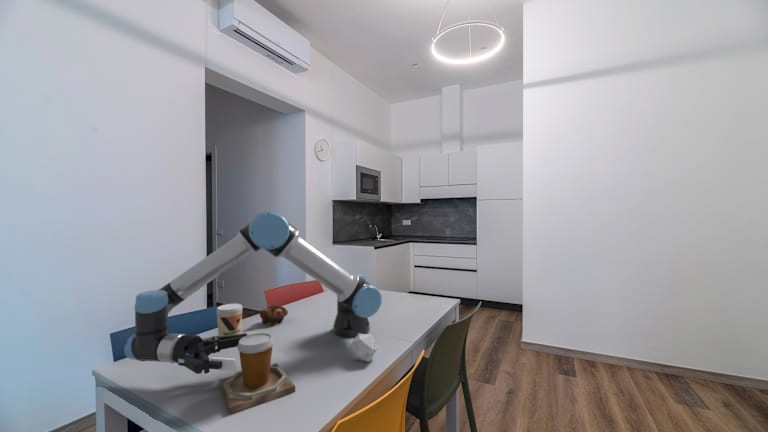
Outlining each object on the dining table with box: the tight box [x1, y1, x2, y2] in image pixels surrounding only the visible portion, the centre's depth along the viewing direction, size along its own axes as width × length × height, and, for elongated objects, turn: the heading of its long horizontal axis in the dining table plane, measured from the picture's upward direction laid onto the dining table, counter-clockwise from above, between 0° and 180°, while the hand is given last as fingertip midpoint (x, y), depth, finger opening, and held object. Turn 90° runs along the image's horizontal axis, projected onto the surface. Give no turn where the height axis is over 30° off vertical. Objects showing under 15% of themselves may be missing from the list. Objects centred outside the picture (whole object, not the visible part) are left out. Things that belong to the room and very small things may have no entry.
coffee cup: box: [215, 303, 244, 336], centre depth 121 cm, size 9×9×12 cm
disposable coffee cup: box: [236, 332, 275, 388], centre depth 84 cm, size 10×10×12 cm
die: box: [349, 333, 378, 363], centre depth 101 cm, size 8×9×10 cm
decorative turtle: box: [259, 305, 289, 326], centre depth 137 cm, size 10×15×8 cm, turn 158°
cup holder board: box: [218, 363, 296, 415], centre depth 84 cm, size 16×16×2 cm
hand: (250, 352), depth 84 cm, fingers open, 13 cm apart
